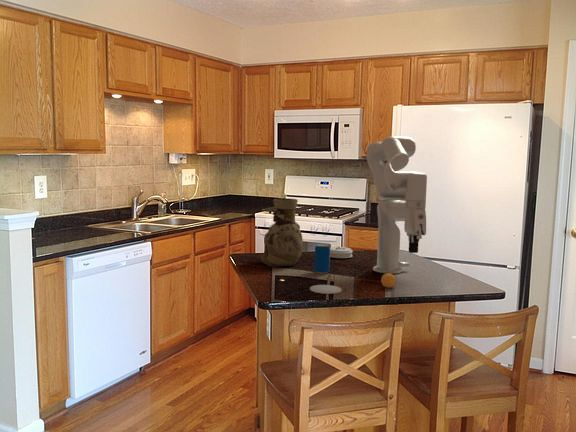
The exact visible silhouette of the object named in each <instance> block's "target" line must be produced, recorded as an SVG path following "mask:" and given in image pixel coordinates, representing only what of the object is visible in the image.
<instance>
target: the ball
mask: <svg viewBox="0 0 576 432" xmlns="http://www.w3.org/2000/svg"><path fill="white" fill-rule="evenodd" d="M380 282H381V284H382V286H383V287H384V288H387V289H388V288H389V289H390V288H392V287H394V286H395V284H396V282H397V280H396V277H395V276H394V274H390V273H383V275H382V276H381V280H380Z"/></svg>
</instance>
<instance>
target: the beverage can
mask: <svg viewBox="0 0 576 432" xmlns="http://www.w3.org/2000/svg"><path fill="white" fill-rule="evenodd" d="M330 263H331V257H330V244H326V243H317V244H316V246H315V247H314V268H313V269H314V272H315V273H316V274H320V275H326V274H327V275H328V273H329V272H330V268H331V266H330Z"/></svg>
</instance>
